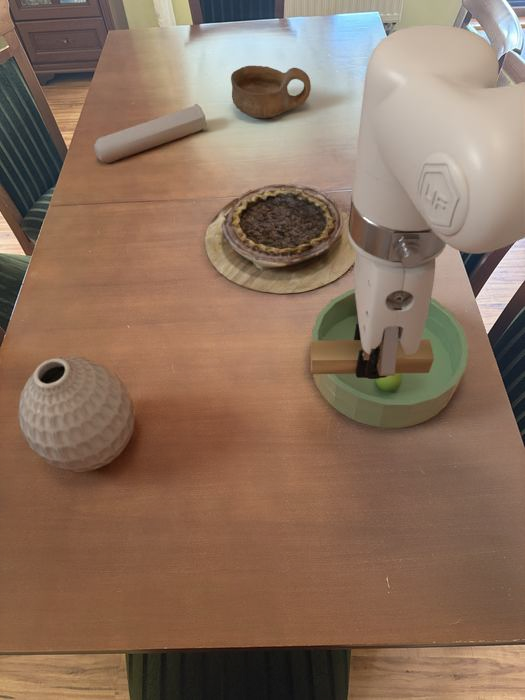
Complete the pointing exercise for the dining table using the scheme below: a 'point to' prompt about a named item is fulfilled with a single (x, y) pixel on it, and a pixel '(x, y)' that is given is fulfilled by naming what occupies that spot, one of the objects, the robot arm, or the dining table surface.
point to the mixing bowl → (416, 388)
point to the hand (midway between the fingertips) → (369, 361)
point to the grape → (389, 382)
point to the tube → (150, 134)
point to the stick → (345, 354)
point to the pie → (281, 239)
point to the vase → (76, 413)
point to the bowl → (267, 90)
